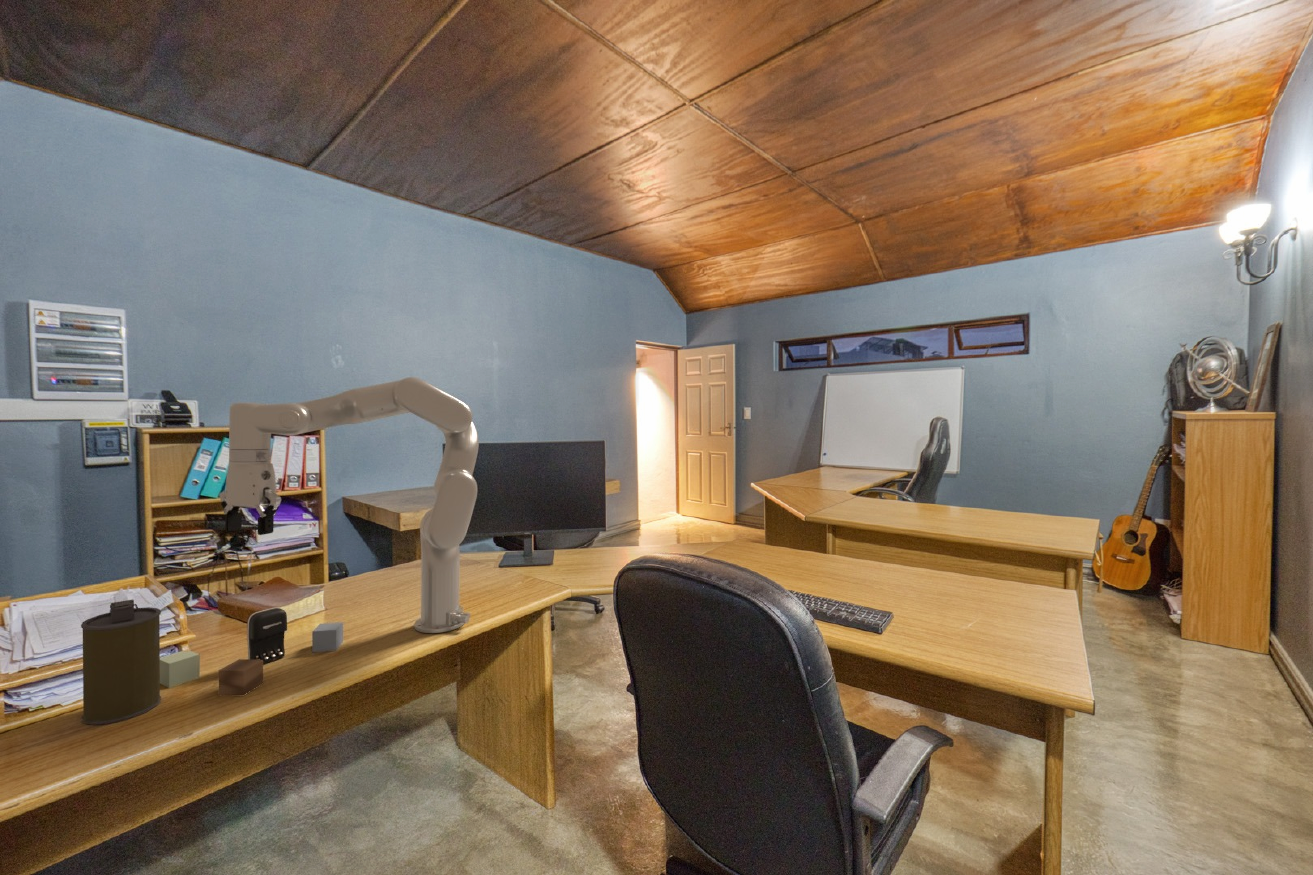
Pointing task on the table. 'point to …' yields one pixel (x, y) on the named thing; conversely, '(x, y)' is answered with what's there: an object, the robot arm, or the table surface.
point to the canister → (121, 663)
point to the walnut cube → (240, 677)
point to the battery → (266, 634)
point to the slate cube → (327, 637)
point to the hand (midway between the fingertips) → (249, 532)
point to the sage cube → (179, 668)
